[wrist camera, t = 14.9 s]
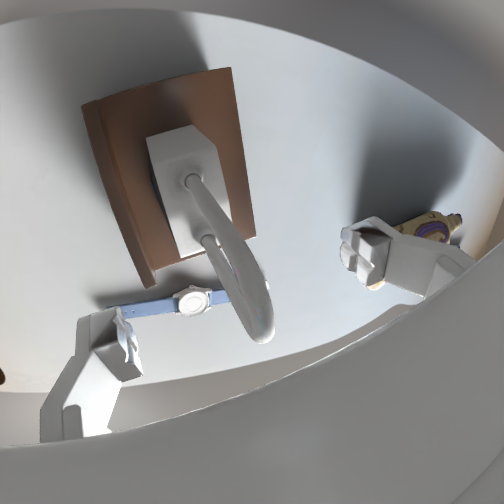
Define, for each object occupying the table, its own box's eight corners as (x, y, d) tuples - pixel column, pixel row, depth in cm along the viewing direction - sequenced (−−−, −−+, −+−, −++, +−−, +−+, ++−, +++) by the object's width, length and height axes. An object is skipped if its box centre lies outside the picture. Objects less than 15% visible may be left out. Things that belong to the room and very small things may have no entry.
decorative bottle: (346, 275, 42) (374, 301, 37) (350, 231, 38) (383, 256, 33) (444, 230, 48) (469, 246, 43) (451, 195, 44) (479, 210, 39)
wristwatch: (267, 297, 38) (270, 302, 37) (110, 324, 31) (110, 330, 30) (270, 270, 36) (274, 275, 35) (102, 296, 29) (101, 302, 28)
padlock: (216, 207, 22) (325, 359, 11) (164, 224, 21) (223, 403, 10) (198, 122, 18) (333, 200, 7) (139, 140, 17) (155, 258, 6)
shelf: (209, 71, 22) (240, 64, 15) (233, 209, 30) (266, 248, 24) (97, 101, 19) (80, 105, 13) (139, 240, 27) (145, 289, 21)
